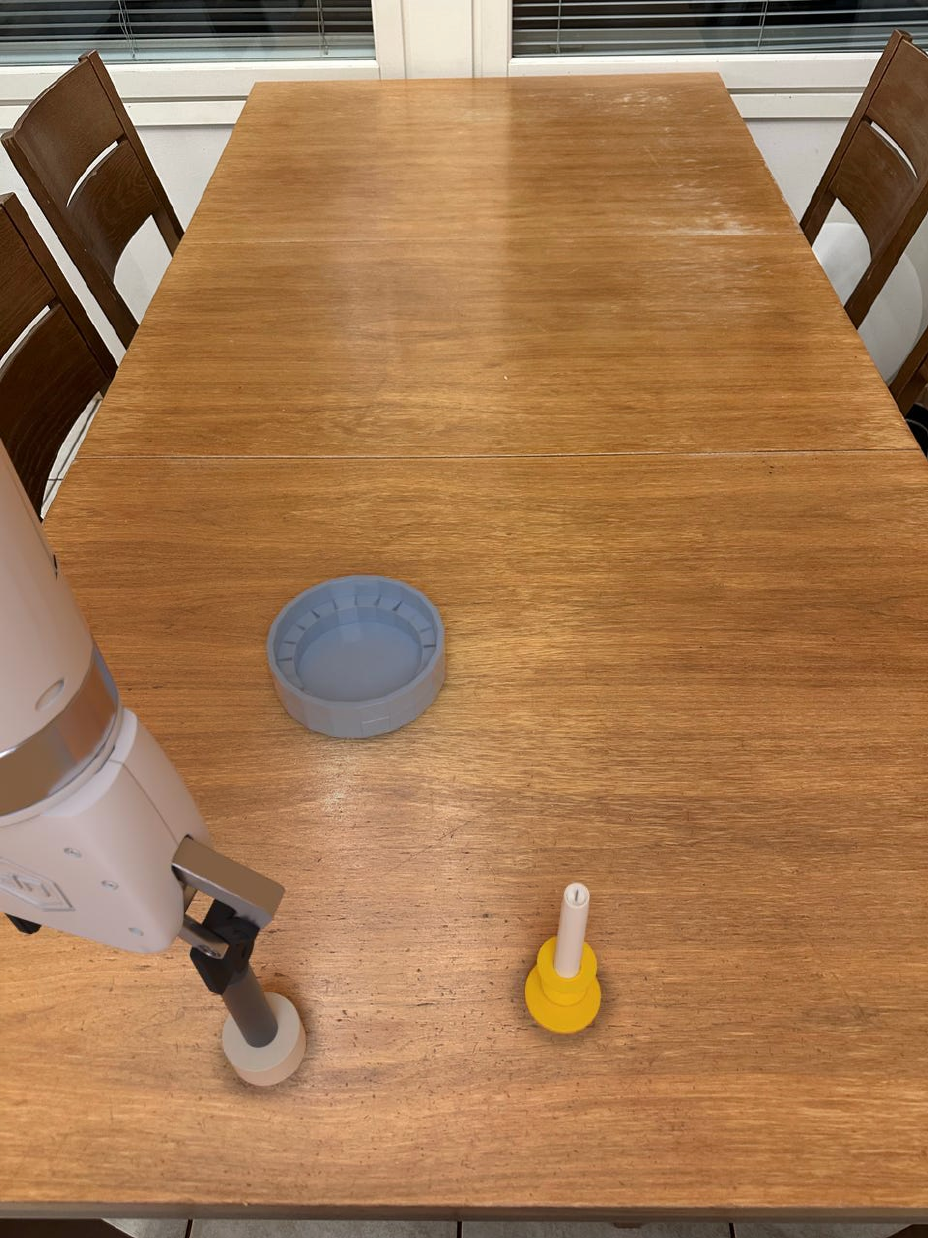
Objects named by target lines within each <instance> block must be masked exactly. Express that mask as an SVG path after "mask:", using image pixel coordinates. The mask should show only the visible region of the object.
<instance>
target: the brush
mask: <svg viewBox="0 0 928 1238" xmlns="http://www.w3.org/2000/svg"><path fill="white" fill-rule="evenodd" d="M219 996H220V998H221V999H222V1001H223V1003H224V1005H225V1006H226V1008H227V1010H228V1012H229V1013H228V1015H227V1017H226V1019H225V1020H224V1024H223V1028H222V1031H221V1044H222V1048H223V1051H224V1054H225V1056H226V1057H227V1059H228V1060H229V1062H230V1064H231V1066H232V1067H233V1069H234V1071H235V1072H236V1074H237V1075H238V1076H239V1077H240V1078H241V1079H242V1080H244V1081H245V1082H247V1083H248V1084H251V1085H253V1086H259V1087H268V1086H269V1087H270V1086H273V1085H276V1084H279V1083H281V1082H283V1081H285V1080H286V1079H288V1078H289V1077H291V1075H293V1073H294V1072H295V1071H296V1070H297V1069H298V1068H299V1066H300V1065H301V1062H303V1059H304V1057H305V1053H306V1049H307V1034H306V1030H305V1028H304V1025H303V1022H302V1020H301V1017H300V1015H299V1012H298V1010H297V1008H296V1006H295V1005H294V1003H292V1001H290V1000H289V999H288V998H287V997H286V996H284V995H282V994H280V993H277V992H272V991H263V989H262V987H261V984H260V982H259V980H258V978H257V976H256V973H255V972H254V969H253V967H252V965H251V963H250V960H249V961H248V963H247V966H246V967H245V969H244V970H243V972H242V973H236V972H234V973H233V976H232V978H231V980H230V982H229V984H228V986H227V988H226V990H225V992H224V993H223V994H222V995H219Z"/></svg>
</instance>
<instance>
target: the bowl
mask: <svg viewBox="0 0 928 1238" xmlns="http://www.w3.org/2000/svg"><path fill="white" fill-rule="evenodd" d="M446 647H447V646H446V629H445V626H444V624H443V619H442V617H441V615H440V611H439V609H438V608H437V607H436V606H435V604H434V603H433V602H432V601H431V599H429V598H428V597H427V595H426V594H425V593H424V592H422V591H421V590H419V589H417V588H415V587H414V586H413V585H411V584H409V583H407V582H405V581H403V580H398V579H394V578H391V577H388V576H383V575H379V574H350V575H345V576H341V577H336V578H335V577H334V578H330V579H327V580H324V581H322V582H320V583H317V584H315V585H313V586H311V587H309V588H307V589H304V590H302V591H301V592H300V593H299V594H297V595H296V596H295V597H294V598H292V599H291V600H290V601H289V602H287V603H286V604H284V606H283V607H282V608H281V610H280V611H279V613H278V614H277V615H276V617H275V619H274V620H273V621H272V623H271V625H270V627H269V631H268V635H267V639H266V643H265V649H266V656H267V657H266V658H267V663H268V667H269V671H270V675H271V678H272V679H271V680H272V682H273V686H274V689H275V693H276V696H277V699H278V700H279V702H280V703H281V704H282V706H283V707H284V709H285V711H286V712H287V714H288V715H289V716H290V717H291V718H293V719H294V720H296V721H297V722H298V723H300V724H301V725H302V726H304V727H305V728H307V729H308V730H310V731H314V732H317V733H320V734H323V735H326V736H329V737H332V738H343V739H344V738H346V739H347V738H349V739H350V738H351V739H365V738H370V737H374V736H378V735H379V736H380V735H384V734H388V733H392V732H394V731H396V730H398V729H399V728H401V727H403V726H405V725H407V724H409V723H411V722H413V721H415V720H417V719H418V717H420V716H421V715H422V714H423V712H425V711H426V710H427V709H428V708H429V707H430V706H431V705H432V704H433V703H434V702H435V700H436V699H437V696H438V695H439V693H440V691H441V689H442V687H443V685H444V683H445V680H446V671H447V670H446V669H447V648H446Z"/></svg>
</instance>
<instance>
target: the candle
mask: <svg viewBox="0 0 928 1238" xmlns="http://www.w3.org/2000/svg"><path fill="white" fill-rule="evenodd" d="M590 898H591V896H590V891H589V889H588V887H586V886H585V885H584V884H583V883H580V882H572V883H570V884H569V885H567V886H566V888H565V889H564V892H563V897H562V900H561V906H560V912H559V920H558V927H557V935H556V936H552V937H550V938H549V939H548V940H546V941H545V942H544V943H543V945H542V946H541V947H540V948H539V951H538V954H537V958H536V963H535V965H534V966H533V968H532V969H531V970H530V971H529V972H528V973H529V974H528V975H527V978H526V980H525V985H524V1000H525V1004H526V1007H527V1010H528V1012H529V1014H530V1015H531V1017H532V1018H533V1020H534V1021H535V1022H536V1023H538V1024H539V1025H540V1026H541V1027H542V1028H544V1029H546V1030H548V1031H550V1032H551V1033H556V1034H563V1035H564V1034H574V1033H576V1032H580V1031H582V1030H584V1029H585V1028H586V1027H588V1026H589V1025H591V1023H592V1022H593V1021H594V1020H595V1018H596V1017H597V1015H598V1012H599V1009H600V1007H601V1000H602V992H601V991H602V990H601V984H600V983H599V980H598V978H597V976H596V975H597V970H598V963H597V962H598V961H597V956H596V954H595V952H594V950H593V949H592V947H591V946H590V944H589V943H588V942H586V941H585V935H586V930H587V923H588V917H589V909H590Z"/></svg>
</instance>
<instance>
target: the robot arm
mask: <svg viewBox="0 0 928 1238" xmlns="http://www.w3.org/2000/svg"><path fill="white" fill-rule="evenodd" d="M198 891H199V892H200V893H202V894H205V895H206V896H208V897H211V898H212V899H213V901H212V902H211V905H210V907H209V909H208V910H207V912H206V914H205V916H204V918H203V920H202V922H201V923H200V922H199V921H198V920H196V919H195V918H193V917H191V916H190V915H188V914H187V912H188V909H189V907H190V905H191V904H192V902H193V900H194V898H195V896H196V894H197V892H198ZM286 892H287V889H286V888H285V886H283V885H282V884H281V883H279V882H277V881H275V880H273V879H271V878H269V877H267V876H266V875H263V874H261V873H259V872H257V871H256V870H254V869H252V868H249V867H247V866H245V865H243V864H241V863H239V862H238V861H236V860H233V859H232V858H230V857H228V856H225V855H223V853H220V852H217V851H216V849H215V845H214V842H213V838H212V835H211V832H210V830H209V827H208V825H207V822H206V820H205V818H204V816H203V814H202V812H201V810H200V808H199V806H198V804H197V802H196V800H195V798H194V797H193V795H192V793H191V791H190V789H189V788H188V786H187V784H186V783H185V781H184V780H183V778H182V776H181V775H180V773H179V771H178V769H177V768H176V767H175V765H174V763H173V762H172V761H171V759H170V758H169V756H168V754H167V753H166V752H165V750H164V749H163V748H162V746H161V745H160V743H159V742H158V741H157V739H156V738H155V737H154V735H153V734H152V733H151V732H150V730H148V728H147V727H146V726H145V725H144V723H143V722H142V721H141V719H140V718H139V717H138V715H137V714H136V712H134V711H132V710H131V709H130V708H128V707H126V706H125V705H123V701H122V695H121V693H120V691H119V688H118V685H117V683H116V682H115V679H114V677H113V675H112V673H111V671H110V668H109V667H108V665H107V662H106V660H105V658H104V656H103V653H102V651H101V649H100V648H99V645H98V643H97V641H96V638H95V637H94V635H93V632H92V630H91V629H90V625H89V624H88V622H87V619H86V618H85V615H84V613H83V611H82V608H81V606H80V605H79V602H78V601H77V598H76V596H75V593H74V591H73V589H72V587H71V585H70V582H69V581H68V578H67V577H66V574H65V572H64V570H63V568H62V566H61V563H60V562H59V559H58V557H57V555H56V553H55V551H54V549H53V547H52V545H51V542H50V540H49V538H48V536H47V534H46V532H45V530H44V528H43V525H42V524H41V521H40V519H39V516H38V515H37V512H36V511H35V508H34V506H33V504H32V502H31V499H30V498H29V496H28V493H27V492H26V489H25V487H24V485H23V483H22V481H21V479H20V477H19V474H18V473H17V471H16V468H15V466H14V464H13V461H12V459H11V457H10V456H9V454H8V451H7V449H6V447H5V444H4V443H3V440H2V439H1V437H0V912H1V913H3V914H4V915H5V916H6V917H7V918H8V920H9V921H10V922H11V923H12V924H13V926H15V928H16V929H17V930H18V931H19V932H20V933H23V934H27V935H33V934H36V933H38V932H39V931H40V930H41V927H42V926H44V927H47V928H49V929H53V930H56V931H59V932H63V933H66V934H69V935H72V936H75V937H79V938H82V939H86V940H89V941H92V942H96V943H99V944H103V945H105V946H108V947H112V948H115V949H119V950H123V951H127V952H130V953H135V954H140V955H141V954H142V955H153V954H155V955H156V954H159V953H163V952H165V951H167V950H169V949H170V948H171V947H172V945H174V942H175V940H176V939H177V937H178V938H179V939H181V940H182V941H184V943H187V944H188V945H190V946H191V948H190V951H189V959H190V961H191V962H192V964H193V965H194V967H195V970H196V971H197V972H198V974H199V976H200V977H201V979H202V981H203V983H204V985H205V986H206V988H207V989H208V991H209V992H210V993H213V994H216V995H219V996H220V995H222V994H223V993H224V992H225V990H226V988H227V986H228V984H229V982H230V980H231V978H232V976H233V973H234V972H236V973H242V972H243V970H244V969H245V967H246V966H247V963H248V961H249V962H250V959H251V957H252V955H253V952H254V948H255V941H256V940H257V937H258V935H259V933H260V932H261V931H264V929H266V927H267V926H268V925H269V924H270V923H271V922H272V921H274V920H273V919H274V918H275V916H276V913H277V912H278V909H279V907H280V905H281V902H282V900H283V898H284V897H285V894H286Z"/></svg>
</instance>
